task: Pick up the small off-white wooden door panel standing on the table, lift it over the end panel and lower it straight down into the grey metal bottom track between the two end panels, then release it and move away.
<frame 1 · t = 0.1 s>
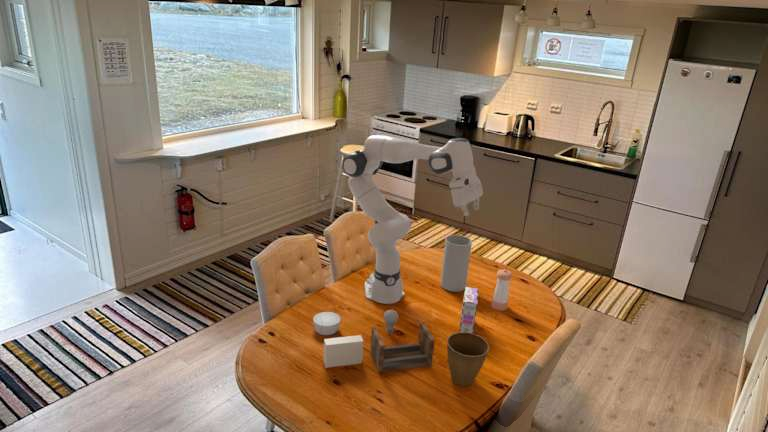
hand: (471, 212, 213), 52 cm above the table, tool tilted 20°, fingers open, 8 cm apart
lightbulb: (389, 334, 222), on the table
candy box: (466, 328, 230), on the table
door panel: (342, 362, 202), on the table
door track: (400, 360, 206), on the table
cylinder vase: (452, 286, 264), on the table
salt shaker: (499, 306, 249), on the table
ramekin: (326, 329, 222), on the table
plant pot: (462, 380, 197), on the table
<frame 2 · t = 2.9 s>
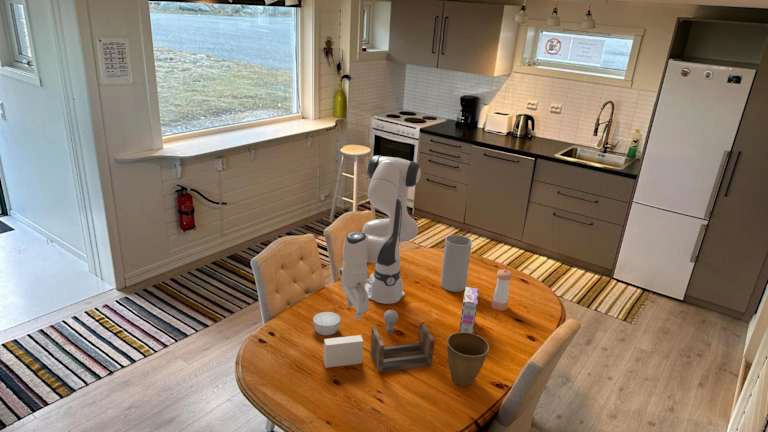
hand: (354, 311, 193), 23 cm above the table, tool pointing down, fingers open, 8 cm apart
nothing on the table moved.
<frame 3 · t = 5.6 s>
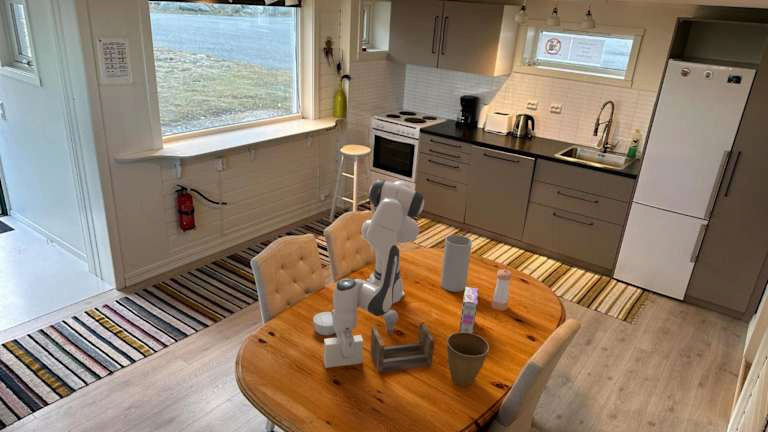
hand: (343, 353, 201), 4 cm above the table, tool pointing down, fingers closed on door panel, 4 cm apart
door panel: (342, 362, 202), on the table, touching gripper
everything else where it was.
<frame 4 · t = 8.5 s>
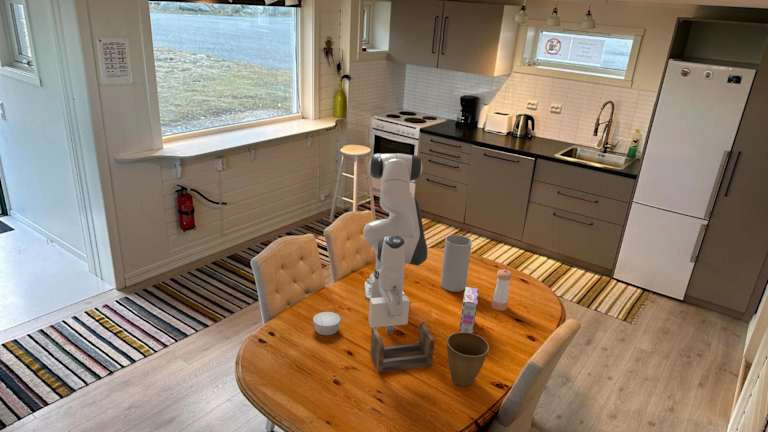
hand: (388, 313, 197), 21 cm above the table, tool pointing down, fingers closed on door panel, 4 cm apart
door panel: (387, 322, 199), point 17 cm above the table, touching gripper
everything else where it was.
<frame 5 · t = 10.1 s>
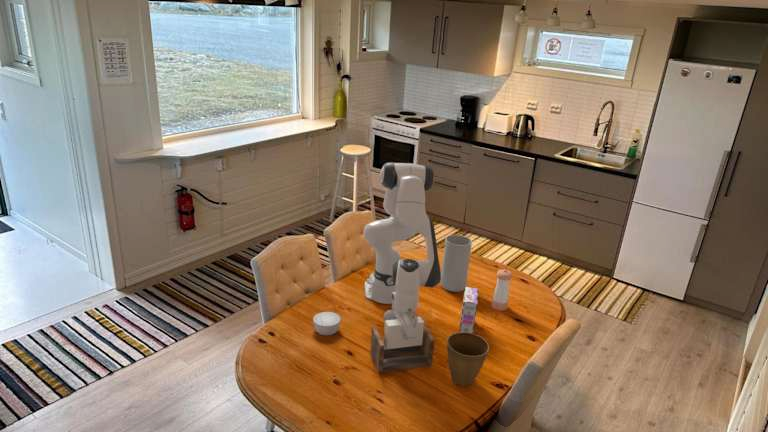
hand: (403, 334, 201), 11 cm above the table, tool pointing down, fingers closed on door panel, 4 cm apart
door panel: (402, 344, 203), point 7 cm above the table, touching gripper
everything else where it was.
when the fingers open (6 cm above the table, at t = 11.5 s): door panel stays where it is, resting on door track.
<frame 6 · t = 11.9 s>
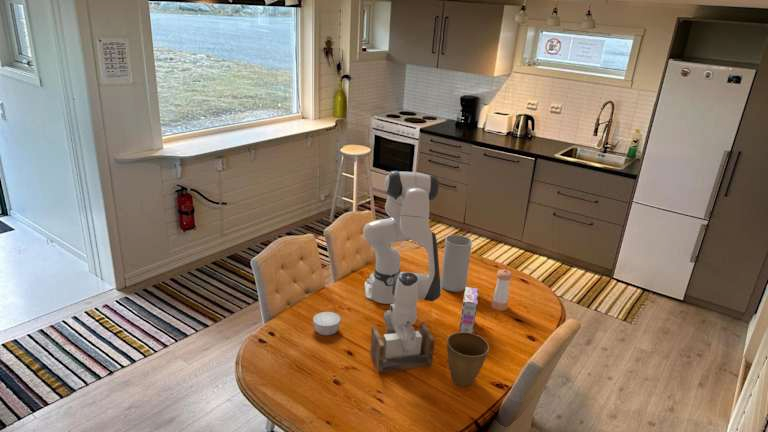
hand: (401, 346, 203), 6 cm above the table, tool pointing down, fingers open, 8 cm apart
door panel: (400, 357, 205), point 1 cm above the table, touching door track
everything else where it was.
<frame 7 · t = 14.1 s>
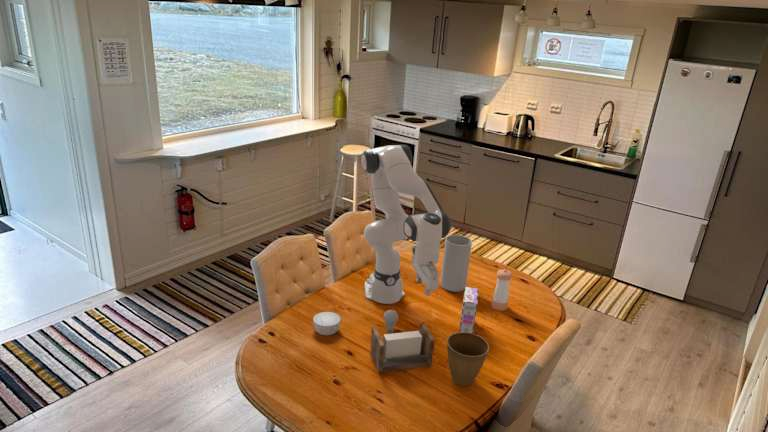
hand: (423, 288, 204), 27 cm above the table, tool pointing down, fingers open, 8 cm apart
nothing on the table moved.
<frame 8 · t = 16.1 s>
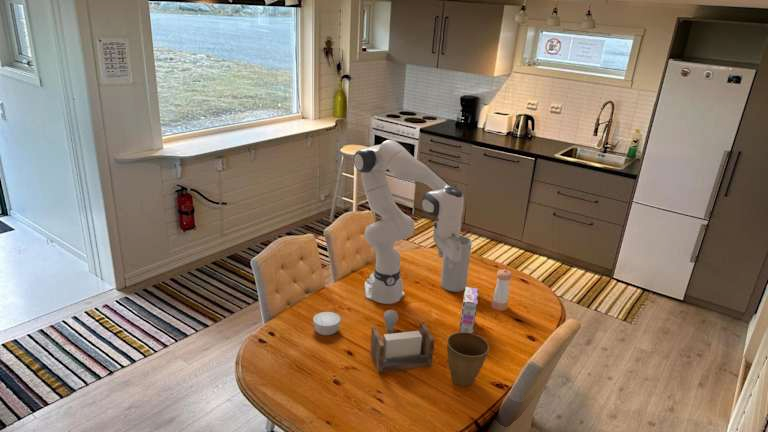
hand: (445, 261, 211), 34 cm above the table, tool pointing down, fingers open, 8 cm apart
nothing on the table moved.
at the end: door panel 0.1 cm off-centre on the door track, point 1.0 cm above the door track's base; door panel tilted 0°; the gripper is holding nothing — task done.
